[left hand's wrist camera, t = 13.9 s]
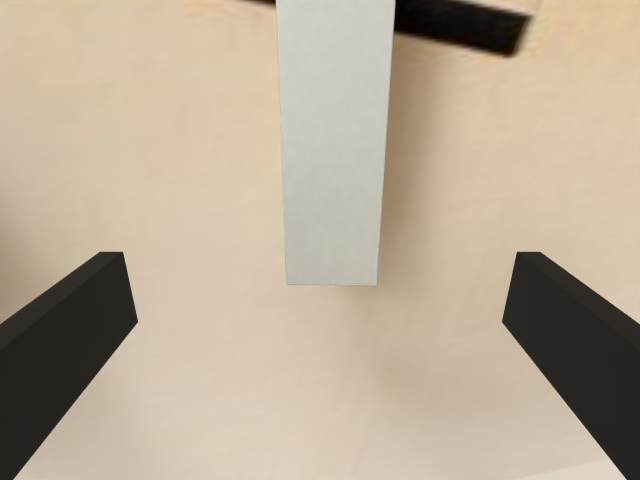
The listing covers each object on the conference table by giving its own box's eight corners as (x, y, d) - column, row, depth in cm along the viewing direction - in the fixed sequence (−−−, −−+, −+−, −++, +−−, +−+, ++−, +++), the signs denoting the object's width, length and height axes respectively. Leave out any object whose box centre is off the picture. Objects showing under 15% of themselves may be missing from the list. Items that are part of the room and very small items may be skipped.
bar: (364, 233, 28) (377, 286, 21) (298, 232, 29) (286, 285, 21) (382, -144, 20) (414, -292, 12) (290, -142, 20) (265, -288, 13)
